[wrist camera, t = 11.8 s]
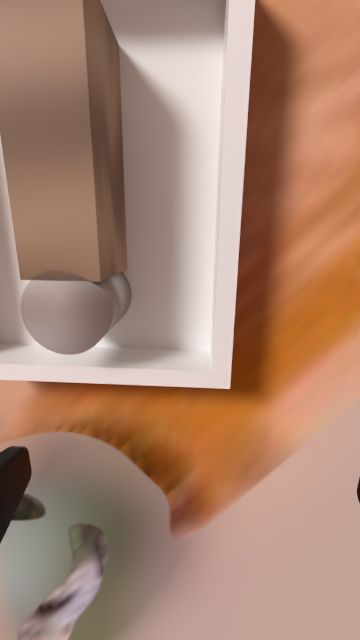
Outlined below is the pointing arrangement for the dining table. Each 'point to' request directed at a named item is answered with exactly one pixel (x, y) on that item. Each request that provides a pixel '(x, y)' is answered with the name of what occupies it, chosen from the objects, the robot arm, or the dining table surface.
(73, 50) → the strut
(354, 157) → the dining table surface
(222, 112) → the bin
